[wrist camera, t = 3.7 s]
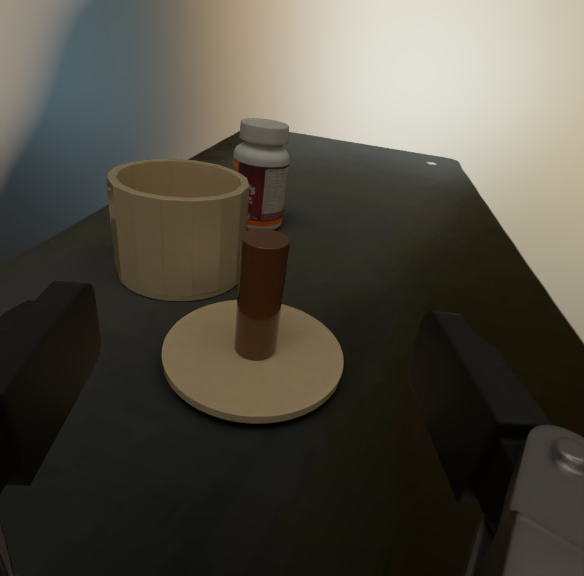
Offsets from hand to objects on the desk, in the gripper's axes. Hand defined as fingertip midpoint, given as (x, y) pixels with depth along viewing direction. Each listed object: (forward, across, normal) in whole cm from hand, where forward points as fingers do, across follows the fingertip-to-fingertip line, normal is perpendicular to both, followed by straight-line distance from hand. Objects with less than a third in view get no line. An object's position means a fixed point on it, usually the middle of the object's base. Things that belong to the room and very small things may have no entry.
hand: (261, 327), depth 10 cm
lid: (+14, 0, +12) cm, 19 cm away
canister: (+26, +7, +13) cm, 30 cm away
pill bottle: (+39, 0, +13) cm, 41 cm away
